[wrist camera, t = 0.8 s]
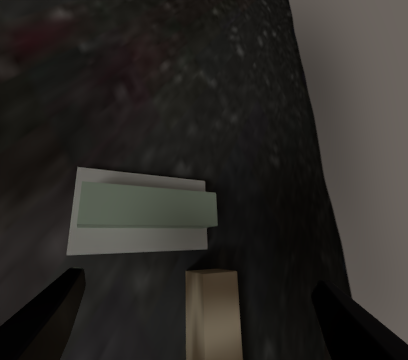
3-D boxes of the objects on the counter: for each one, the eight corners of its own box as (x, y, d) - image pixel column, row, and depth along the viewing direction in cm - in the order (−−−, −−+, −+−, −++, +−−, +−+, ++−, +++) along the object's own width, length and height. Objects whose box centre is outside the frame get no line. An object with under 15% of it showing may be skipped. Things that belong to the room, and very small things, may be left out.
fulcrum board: (200, 249, 24) (223, 248, 20) (67, 254, 18) (64, 255, 15) (198, 184, 26) (219, 172, 22) (77, 172, 20) (77, 154, 17)
